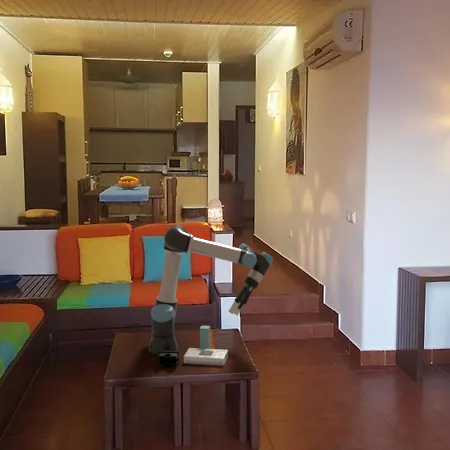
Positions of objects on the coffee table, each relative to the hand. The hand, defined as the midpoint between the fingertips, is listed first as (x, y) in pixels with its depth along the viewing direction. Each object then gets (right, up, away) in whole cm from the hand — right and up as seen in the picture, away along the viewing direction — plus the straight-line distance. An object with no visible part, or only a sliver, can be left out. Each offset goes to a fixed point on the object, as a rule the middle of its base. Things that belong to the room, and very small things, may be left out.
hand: (232, 313), depth 300 cm
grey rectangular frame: (-13, -21, -16) cm, 29 cm away
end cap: (-32, -22, -22) cm, 45 cm away
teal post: (-14, -18, -1) cm, 23 cm away
